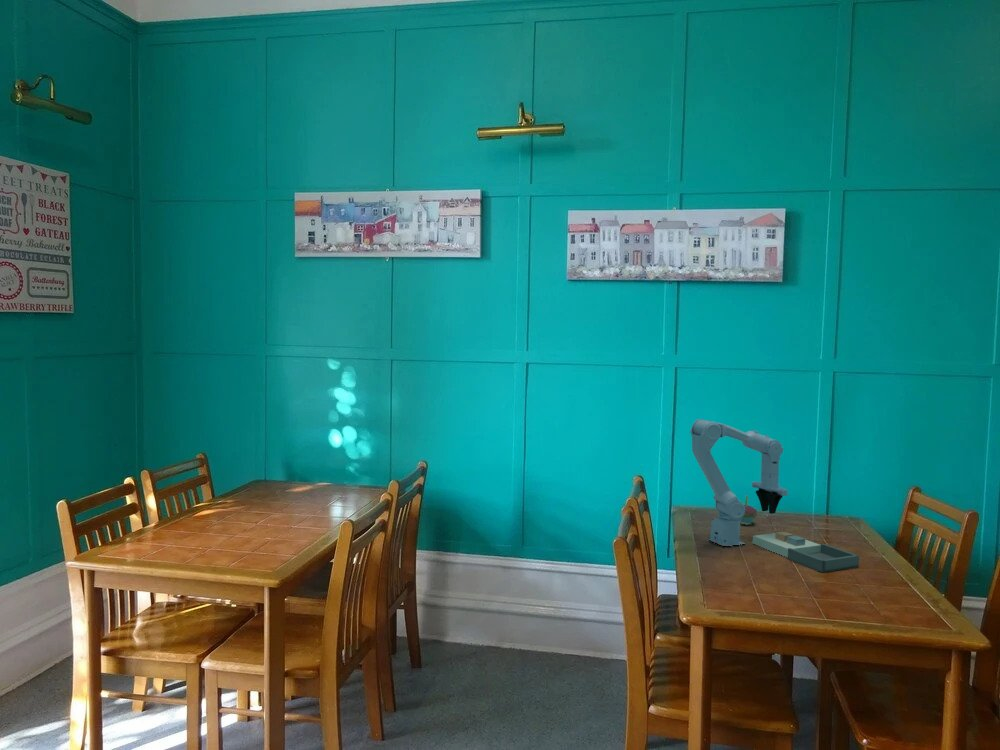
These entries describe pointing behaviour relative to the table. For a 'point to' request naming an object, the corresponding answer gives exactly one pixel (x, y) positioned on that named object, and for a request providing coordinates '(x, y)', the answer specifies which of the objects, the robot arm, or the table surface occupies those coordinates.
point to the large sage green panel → (784, 545)
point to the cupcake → (748, 513)
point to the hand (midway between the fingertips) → (768, 512)
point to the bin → (825, 559)
